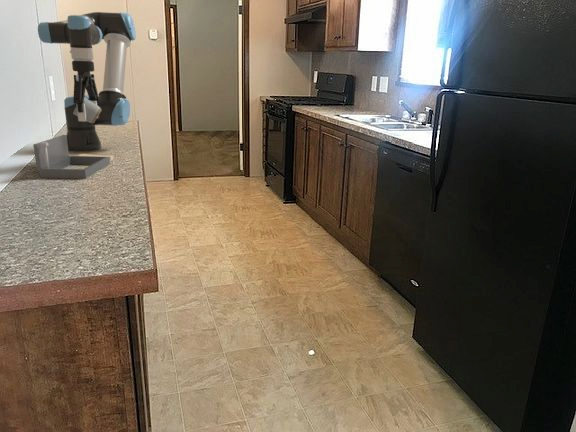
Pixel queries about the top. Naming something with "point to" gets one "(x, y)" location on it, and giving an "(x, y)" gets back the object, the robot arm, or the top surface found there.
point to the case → (64, 160)
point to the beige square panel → (100, 155)
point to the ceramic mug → (90, 111)
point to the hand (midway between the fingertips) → (88, 119)
